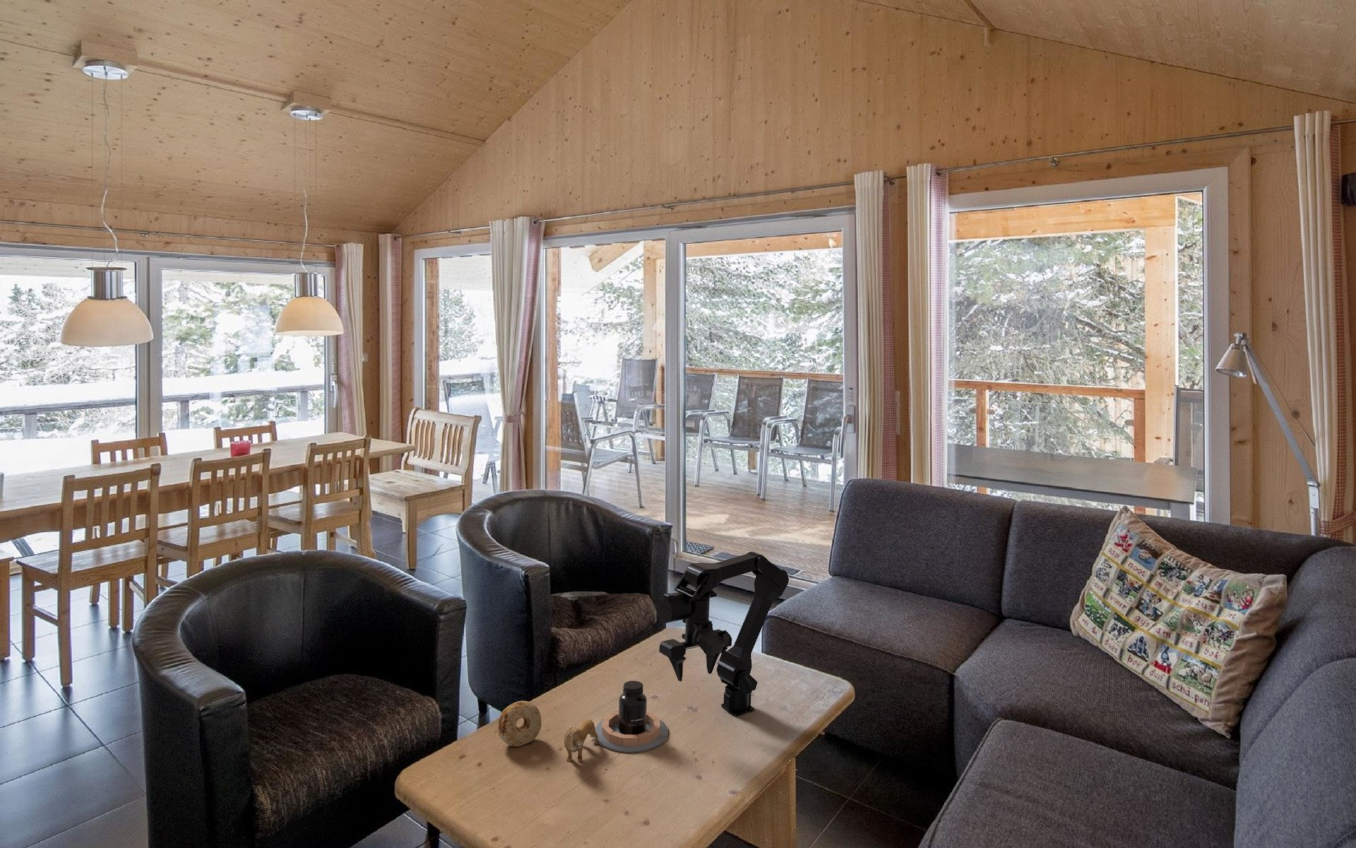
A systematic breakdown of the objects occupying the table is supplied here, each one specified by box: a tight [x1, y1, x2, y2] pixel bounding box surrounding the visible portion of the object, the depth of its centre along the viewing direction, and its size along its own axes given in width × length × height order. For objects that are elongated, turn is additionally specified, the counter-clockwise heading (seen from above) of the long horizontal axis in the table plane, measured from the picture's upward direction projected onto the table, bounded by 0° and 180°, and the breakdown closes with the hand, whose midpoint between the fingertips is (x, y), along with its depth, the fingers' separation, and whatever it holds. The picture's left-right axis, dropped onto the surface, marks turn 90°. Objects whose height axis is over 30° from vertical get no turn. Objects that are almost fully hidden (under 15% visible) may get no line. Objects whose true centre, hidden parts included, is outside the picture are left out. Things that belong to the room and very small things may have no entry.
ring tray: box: [595, 710, 669, 754], centre depth 196 cm, size 18×18×3 cm
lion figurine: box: [563, 719, 599, 763], centre depth 187 cm, size 15×5×9 cm, turn 168°
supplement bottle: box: [618, 680, 648, 735], centre depth 196 cm, size 7×7×12 cm
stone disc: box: [497, 700, 542, 747], centre depth 190 cm, size 10×4×10 cm, turn 123°
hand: (694, 677), depth 199 cm, fingers open, 9 cm apart
